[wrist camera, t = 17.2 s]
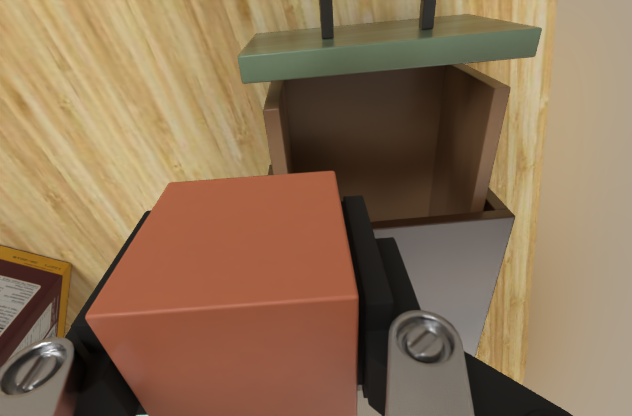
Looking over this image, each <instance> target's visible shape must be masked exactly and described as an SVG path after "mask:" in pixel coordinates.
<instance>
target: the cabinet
mask: <svg viewBox="0 0 632 416" xmlns="http://www.w3.org/2000/svg"><path fill="white" fill-rule="evenodd" d="M268 175H273V169H272V165H270V166H269V172H268ZM514 220H515V216H514V214H513V213H512V212H511V211H510V210H508V208H507V207H506V206H505V205H504V204H503V202H502V201H501V200H500V199H499V198H498V197H497V196H496V195H495V194H494V193H493V192H492V191H491V190H490V188H489V187H488V191H487V195H486V200H485V204H484V209H483V212H472V213H461V214H450V215H439V216H428V217H417V218H406V219H395V220H384V221H373V222H371V225H372V229H373V232H374V235H375V239H376V238H390V237H393V238H394V239H395V241H396V243H397V246H398V249H399V251H400V254H401V257H402V259H403V262H404V265H405V268H406V270H407V273H408V276H409V278H410V281H411V284H412V286H413V289H414V292H415V295H416V297H417V300H418V303H419V305H420V308H421V310H424V311H429V312H433V313H435V314H437V315H439V316H442V317H444V318H445V319H446V320H447V321H449V322H450V323H451V324H452V325H453V326H454V327H455V329H456V330H457V331H458V333H459V335H460V338H461V341H462V344H463V350H464V351H465V352H467V353H468V354H470V355H472V356H473V357H475V355H476V351H477V348H478V345H479V341H480V338H481V334H482V331H483V327H484V324H485V320H486V317H487V313H488V310H489V306H490V303H491V299H492V296H493V293H494V289H495V286H496V282H497V279H498V275H499V272H500V268H501V265H502V261H503V258H504V254H505V251H506V247H507V244H508V240H509V237H510V234H511V230H512V227H513V223H514ZM361 390H362V385H358V391H361Z"/></svg>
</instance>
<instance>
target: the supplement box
mask: <svg viewBox="0 0 632 416" xmlns="http://www.w3.org/2000/svg"><path fill="white" fill-rule="evenodd" d="M71 267H72V265H71V264H70V263H66V262H62V261H58V260H54V259H50V258H46V257H43V256H39V255H35V254H31V253H28V252H24V251H20V250H16V249H12V248H8V247H4V246H0V368H1V367H2V366H3V365H4V364H5V363H6V362H7V361H8V360H9V359H10V358H11V357H12V356H13V355H15V354H16V353H17V352H19V351H20V350H22V349H23V348H25V347H27V346H29V345H31V344H32V343H34V342H37V341H40V340H43V339H46V338H52V337H63V338H64V330H65V321H66V312H67V303H68V294H69V286H70V277H71Z"/></svg>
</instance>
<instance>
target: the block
mask: <svg viewBox="0 0 632 416" xmlns="http://www.w3.org/2000/svg"><path fill="white" fill-rule="evenodd" d="M358 318H359V295H358V290H357V285H356V279H355V274H354V269H353V264H352V258H351V253H350V248H349V243H348V238H347V232H346V227H345V222H344V217H343V211H342V206H341V201H340V196H339V190H338V185H337V180H336V175H335V172H334V171H321V172H308V173H294V174H281V175H267V176H253V177H240V178H226V179H213V180H199V181H185V182H172V183H169V184H168V185H167V187H166V188H165V190H164V192H163V193H162V195H161V196H160V198H159V200H158V201H157V203H156V204H155V206H154V207H153V209H152V211H151V212H150V214H149V215H148V217H147V219H146V220H145V222H144V223H143V225H142V226H141V228H140V230H139V231H138V233H137V234H136V236H135V238H134V239H133V241H132V242H131V244H130V245H129V247H128V249H127V250H126V252H125V253H124V255H123V257H122V258H121V260H120V261H119V263H118V264H117V266H116V268H115V269H114V271H113V272H112V274H111V276H110V277H109V279H108V280H107V282H106V283H105V285H104V287H103V288H102V290H101V291H100V293H99V295H98V296H97V298H96V299H95V301H94V302H93V304H92V306H91V307H90V309H89V310H88V312H87V314H86V316H85V319H86V321H87V323H88V324H89V326H90V327H91V329H92V330H93V332H94V333H95V335H96V336H97V338H98V339H99V341H100V342H101V344H102V346H103V347H104V349H105V350H106V352H107V353H108V355H109V356H110V358H111V359H112V361H113V362H114V364H115V365H116V367H117V368H118V370H119V372H120V373H121V375H122V376H123V378H124V379H125V381H126V382H127V384H128V385H129V387H130V388H131V390H132V391H133V393H134V394H135V396H136V398H137V399H138V401H139V402H140V404H141V405H142V407H143V408H144V410H145V411H146V413H147V414H148V416H357V401H358Z"/></svg>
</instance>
